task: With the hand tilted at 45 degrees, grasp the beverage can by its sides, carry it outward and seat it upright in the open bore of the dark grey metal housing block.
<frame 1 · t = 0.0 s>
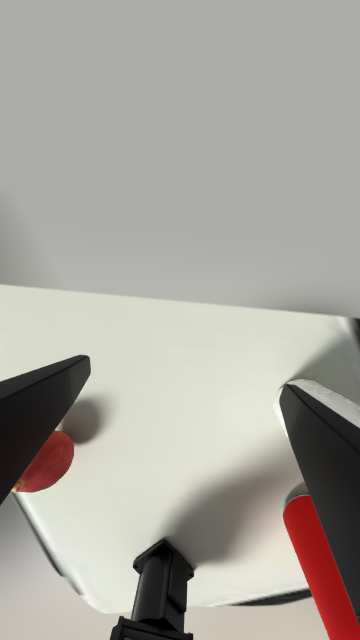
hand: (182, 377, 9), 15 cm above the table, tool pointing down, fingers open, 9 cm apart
onion: (68, 436, 27), on the table
white cup: (300, 403, 24), on the table
beverage can: (303, 507, 25), on the table
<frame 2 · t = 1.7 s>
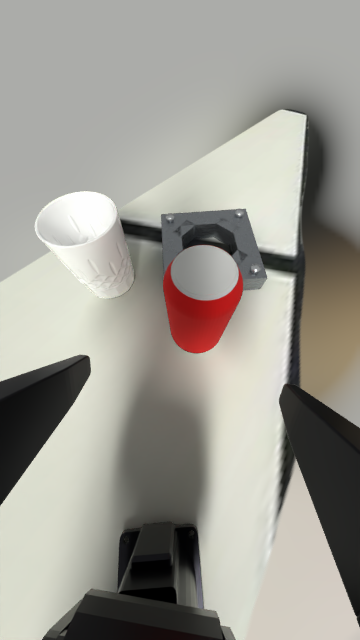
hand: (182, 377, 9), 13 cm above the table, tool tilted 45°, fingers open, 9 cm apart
white cup: (112, 279, 28), on the table
housing: (207, 255, 29), on the table
beverage can: (195, 331, 24), on the table
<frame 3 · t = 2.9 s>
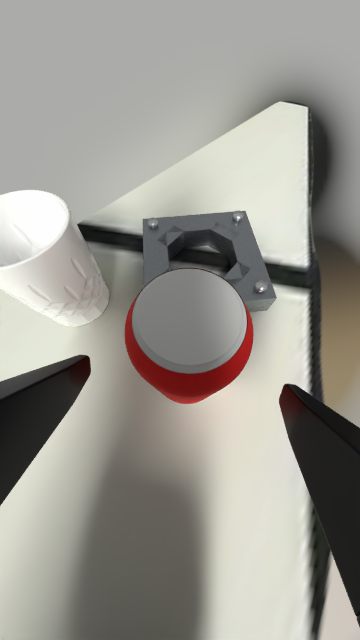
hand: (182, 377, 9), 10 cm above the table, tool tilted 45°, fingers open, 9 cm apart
white cup: (81, 301, 22), on the table
housing: (199, 268, 24), on the table
beverage can: (186, 369, 19), on the table
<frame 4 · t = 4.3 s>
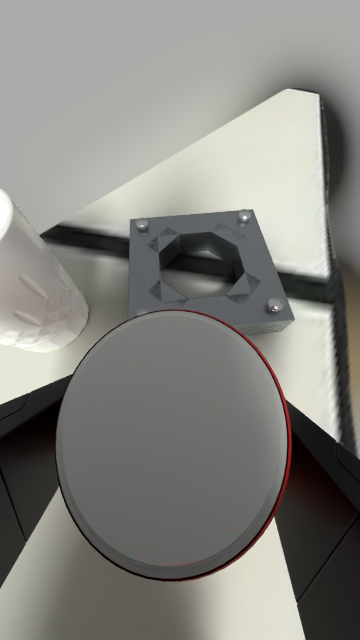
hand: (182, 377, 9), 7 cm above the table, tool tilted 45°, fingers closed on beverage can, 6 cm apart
white cup: (55, 319, 18), on the table
housing: (198, 279, 20), on the table
beverage can: (180, 410, 15), on the table, touching gripper
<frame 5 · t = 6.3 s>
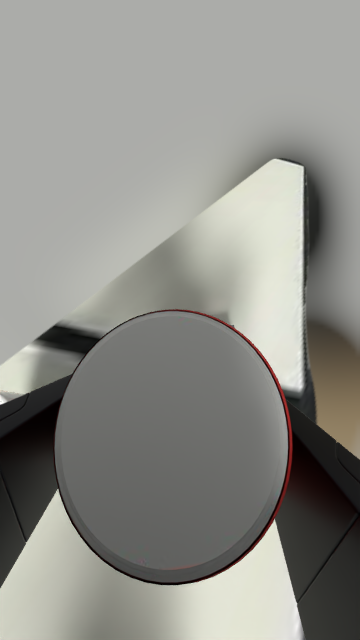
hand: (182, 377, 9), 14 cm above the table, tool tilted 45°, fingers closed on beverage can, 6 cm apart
beverage can: (180, 410, 15), point 7 cm above the table, touching gripper
when the fingers open (8 cm above the table, at t = 8.1 s): beverage can drops 1 cm, resting in housing.
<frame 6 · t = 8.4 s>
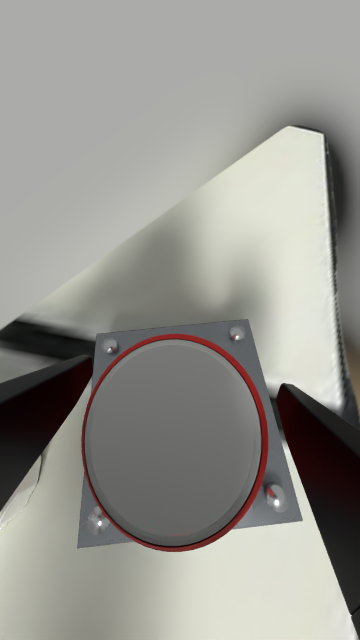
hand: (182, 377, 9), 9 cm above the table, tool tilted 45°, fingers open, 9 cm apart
housing: (180, 409, 16), on the table
beverage can: (180, 413, 16), resting in housing
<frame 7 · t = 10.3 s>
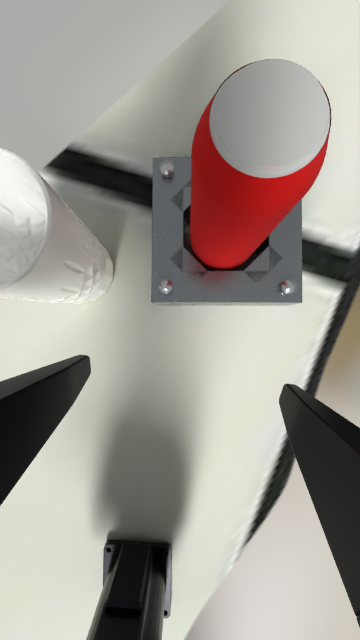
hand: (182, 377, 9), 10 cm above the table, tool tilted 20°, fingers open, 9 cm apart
white cup: (83, 272, 20), on the table
housing: (220, 240, 19), on the table
beverage can: (219, 244, 20), resting in housing
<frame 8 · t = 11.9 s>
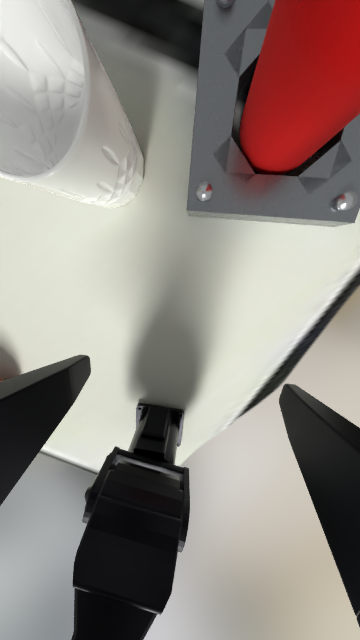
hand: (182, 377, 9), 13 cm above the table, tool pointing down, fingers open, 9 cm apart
white cup: (109, 167, 18), on the table
housing: (277, 130, 15), on the table
beverage can: (275, 136, 16), resting in housing
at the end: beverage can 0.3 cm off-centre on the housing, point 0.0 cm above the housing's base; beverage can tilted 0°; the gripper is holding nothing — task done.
